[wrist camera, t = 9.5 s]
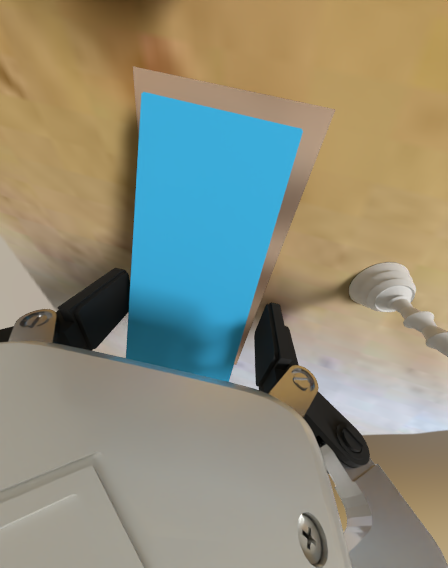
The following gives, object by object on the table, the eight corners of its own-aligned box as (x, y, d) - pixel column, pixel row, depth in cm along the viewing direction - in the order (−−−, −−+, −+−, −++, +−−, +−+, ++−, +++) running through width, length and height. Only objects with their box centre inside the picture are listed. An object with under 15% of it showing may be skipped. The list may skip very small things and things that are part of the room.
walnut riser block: (238, 337, 24) (236, 364, 20) (167, 322, 24) (154, 346, 20) (310, 128, 12) (335, 109, 8) (166, 97, 12) (132, 66, 8)
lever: (187, 160, 14) (162, 344, 19) (141, 90, 7) (123, 404, 12) (270, 179, 14) (222, 358, 19) (303, 128, 7) (215, 426, 12)
